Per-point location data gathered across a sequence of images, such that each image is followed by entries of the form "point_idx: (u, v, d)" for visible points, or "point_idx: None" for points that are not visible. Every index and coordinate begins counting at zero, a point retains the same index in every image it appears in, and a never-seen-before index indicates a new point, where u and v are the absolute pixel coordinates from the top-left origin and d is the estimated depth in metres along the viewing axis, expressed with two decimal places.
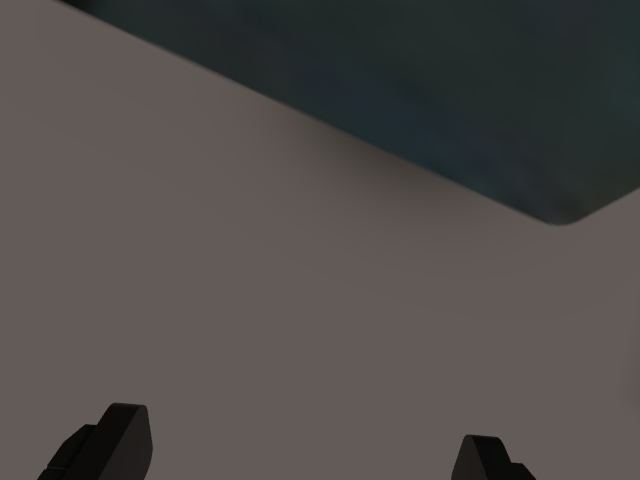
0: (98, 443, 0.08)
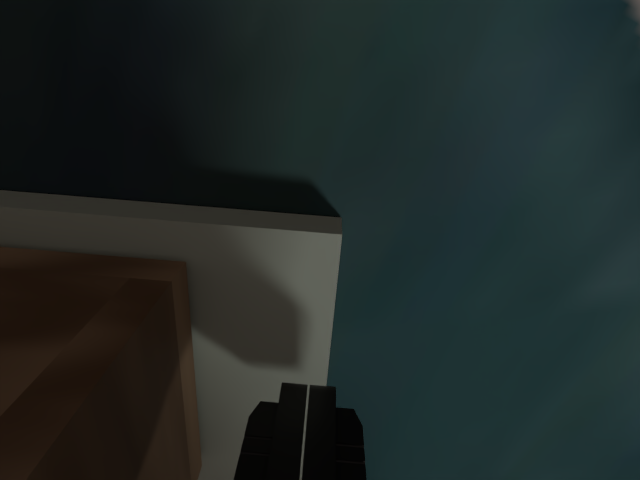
0: (287, 416, 0.09)
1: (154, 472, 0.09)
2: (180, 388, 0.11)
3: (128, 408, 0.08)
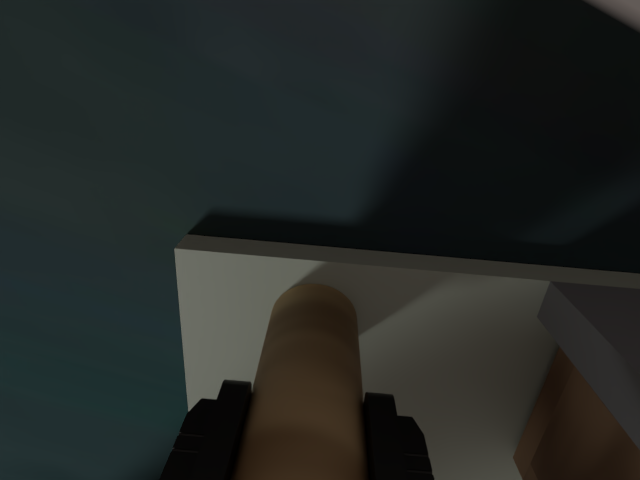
0: (223, 413, 0.09)
1: None
2: None
3: None
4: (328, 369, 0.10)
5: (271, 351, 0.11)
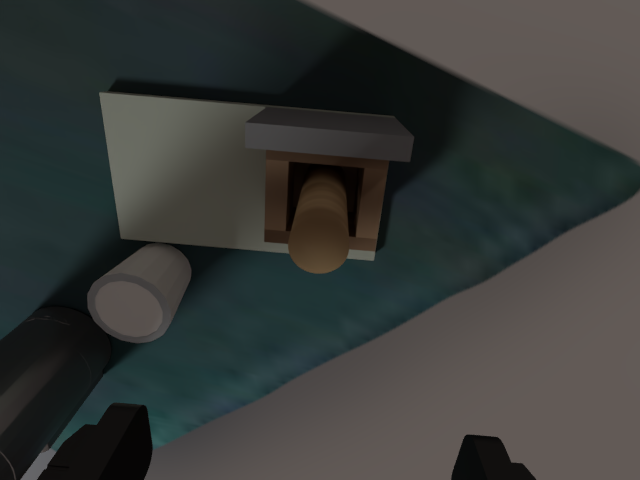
0: (98, 443, 0.08)
1: None
2: None
3: None
4: (332, 175, 0.27)
5: (309, 175, 0.28)
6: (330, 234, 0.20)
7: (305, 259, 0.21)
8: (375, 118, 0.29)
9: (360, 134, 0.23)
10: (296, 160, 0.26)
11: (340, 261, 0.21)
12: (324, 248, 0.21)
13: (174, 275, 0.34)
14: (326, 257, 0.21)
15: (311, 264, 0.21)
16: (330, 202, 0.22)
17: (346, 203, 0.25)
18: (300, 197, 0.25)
